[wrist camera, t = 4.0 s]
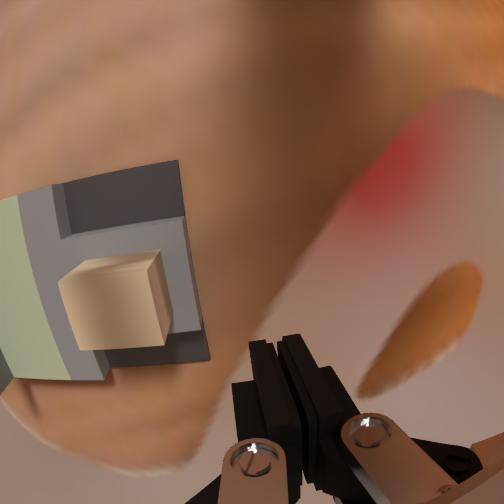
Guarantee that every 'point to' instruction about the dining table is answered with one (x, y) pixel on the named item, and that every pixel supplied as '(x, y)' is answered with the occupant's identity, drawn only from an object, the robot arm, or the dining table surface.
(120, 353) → the multicoloured piece
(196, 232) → the dining table surface
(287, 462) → the robot arm
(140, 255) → the maple block
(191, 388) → the dining table surface
